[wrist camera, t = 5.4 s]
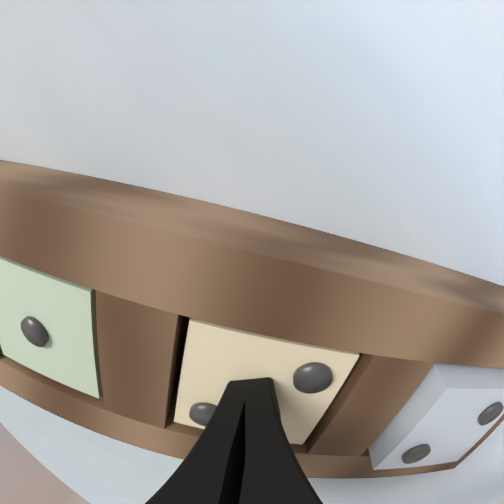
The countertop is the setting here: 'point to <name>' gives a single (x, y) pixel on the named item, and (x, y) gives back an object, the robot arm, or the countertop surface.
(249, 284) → the frame
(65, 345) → the button one
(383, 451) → the button two
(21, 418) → the countertop surface
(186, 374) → the button three
